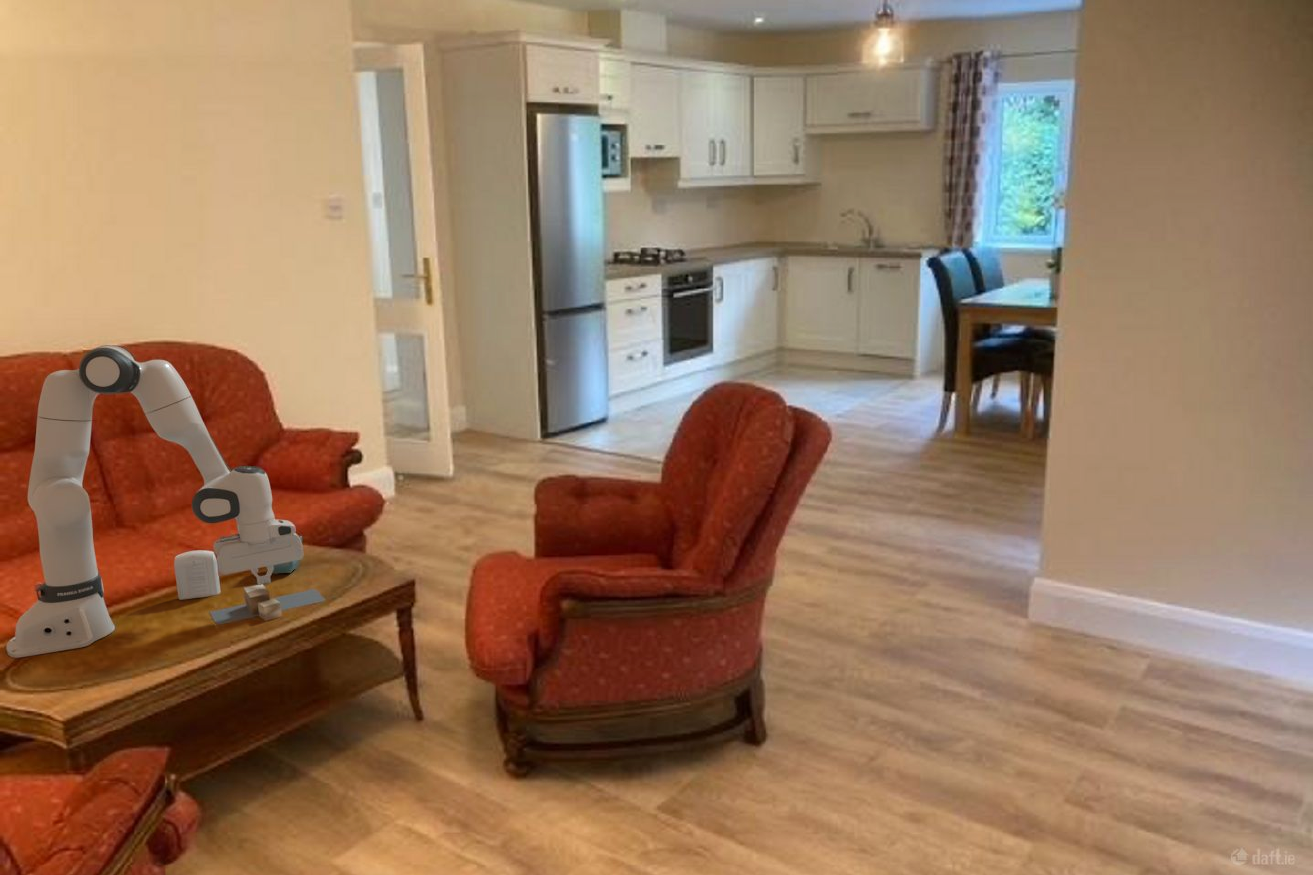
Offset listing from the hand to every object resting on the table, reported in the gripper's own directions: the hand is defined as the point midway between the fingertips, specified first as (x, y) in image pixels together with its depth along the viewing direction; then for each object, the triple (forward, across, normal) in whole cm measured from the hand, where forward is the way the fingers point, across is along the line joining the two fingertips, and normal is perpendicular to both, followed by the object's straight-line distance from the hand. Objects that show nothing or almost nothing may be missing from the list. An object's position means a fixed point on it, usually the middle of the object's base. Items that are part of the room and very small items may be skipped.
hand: (264, 583), depth 257 cm
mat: (+6, 0, 0) cm, 6 cm away
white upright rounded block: (+7, -13, +21) cm, 25 cm away
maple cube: (+6, -1, -8) cm, 10 cm away
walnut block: (+1, -2, 0) cm, 2 cm away
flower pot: (+7, +10, +27) cm, 30 cm away
